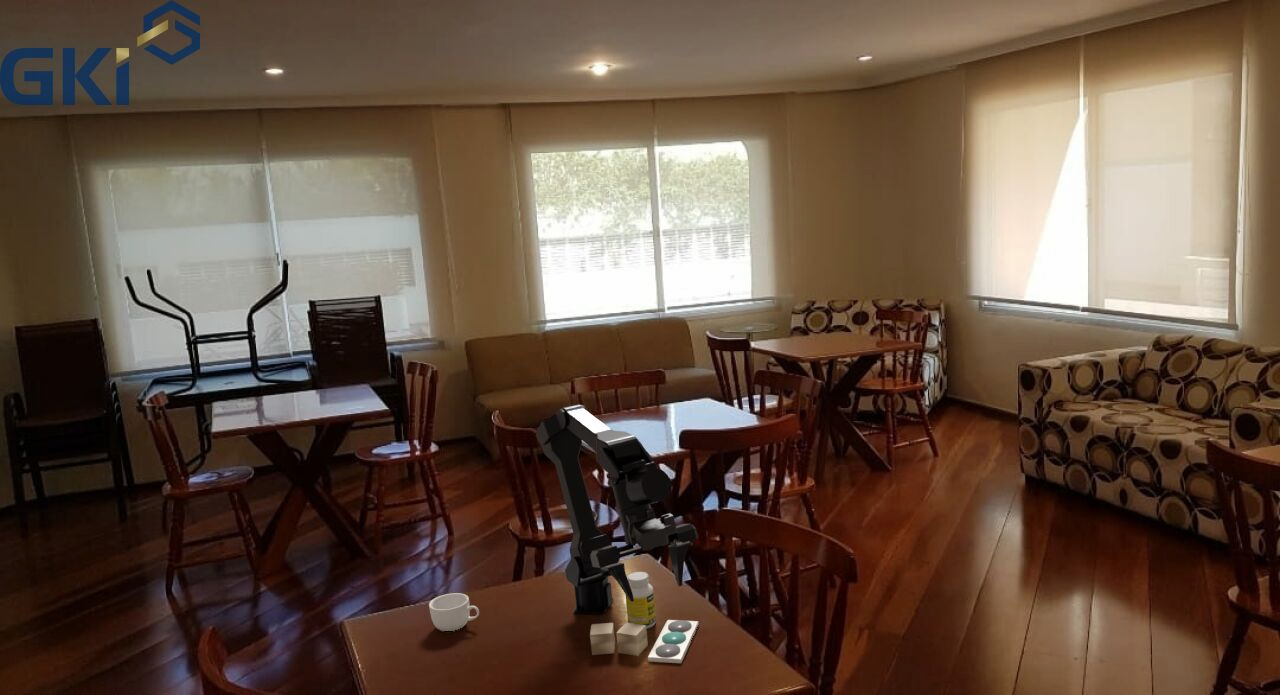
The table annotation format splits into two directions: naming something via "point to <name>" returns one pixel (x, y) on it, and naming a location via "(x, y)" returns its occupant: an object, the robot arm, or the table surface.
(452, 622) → the teacup
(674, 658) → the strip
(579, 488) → the robot arm
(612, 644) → the beech block
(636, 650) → the beech block
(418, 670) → the table surface
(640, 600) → the supplement bottle
